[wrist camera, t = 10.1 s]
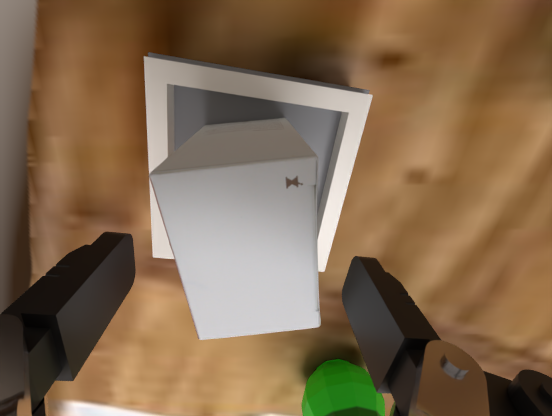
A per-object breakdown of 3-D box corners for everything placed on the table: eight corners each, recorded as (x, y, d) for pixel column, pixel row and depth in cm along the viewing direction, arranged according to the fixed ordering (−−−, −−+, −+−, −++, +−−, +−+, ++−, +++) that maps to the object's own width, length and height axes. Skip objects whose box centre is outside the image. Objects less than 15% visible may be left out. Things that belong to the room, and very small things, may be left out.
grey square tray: (168, 58, 20) (137, 48, 15) (350, 89, 21) (378, 90, 16) (170, 225, 25) (148, 260, 20) (314, 239, 27) (326, 275, 22)
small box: (203, 123, 18) (141, 167, 8) (287, 115, 18) (320, 150, 8) (223, 228, 21) (195, 345, 12) (293, 221, 21) (322, 331, 12)
